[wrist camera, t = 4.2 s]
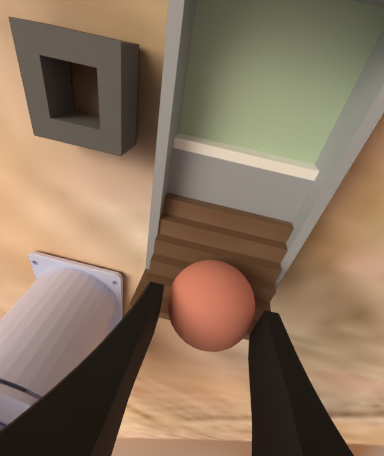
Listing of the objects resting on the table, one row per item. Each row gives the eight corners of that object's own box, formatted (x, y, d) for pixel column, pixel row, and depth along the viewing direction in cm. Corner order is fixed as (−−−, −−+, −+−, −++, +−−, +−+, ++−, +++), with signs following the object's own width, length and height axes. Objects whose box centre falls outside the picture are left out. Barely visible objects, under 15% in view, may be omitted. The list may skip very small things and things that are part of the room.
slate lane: (265, 271, 17) (272, 329, 13) (156, 244, 17) (134, 293, 13) (417, -13, 8) (557, -70, 5) (192, -61, 8) (156, -151, 5)
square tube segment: (135, 144, 13) (120, 156, 11) (59, 125, 13) (34, 135, 12) (139, 44, 10) (120, 42, 9) (43, 22, 11) (8, 16, 9)
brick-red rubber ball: (262, 252, 12) (278, 329, 8) (236, 301, 14) (241, 375, 11) (181, 234, 11) (166, 305, 8) (169, 287, 14) (154, 358, 11)
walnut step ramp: (263, 275, 17) (270, 345, 13) (156, 249, 17) (129, 309, 13) (296, 213, 14) (321, 279, 10) (164, 181, 14) (132, 233, 10)
